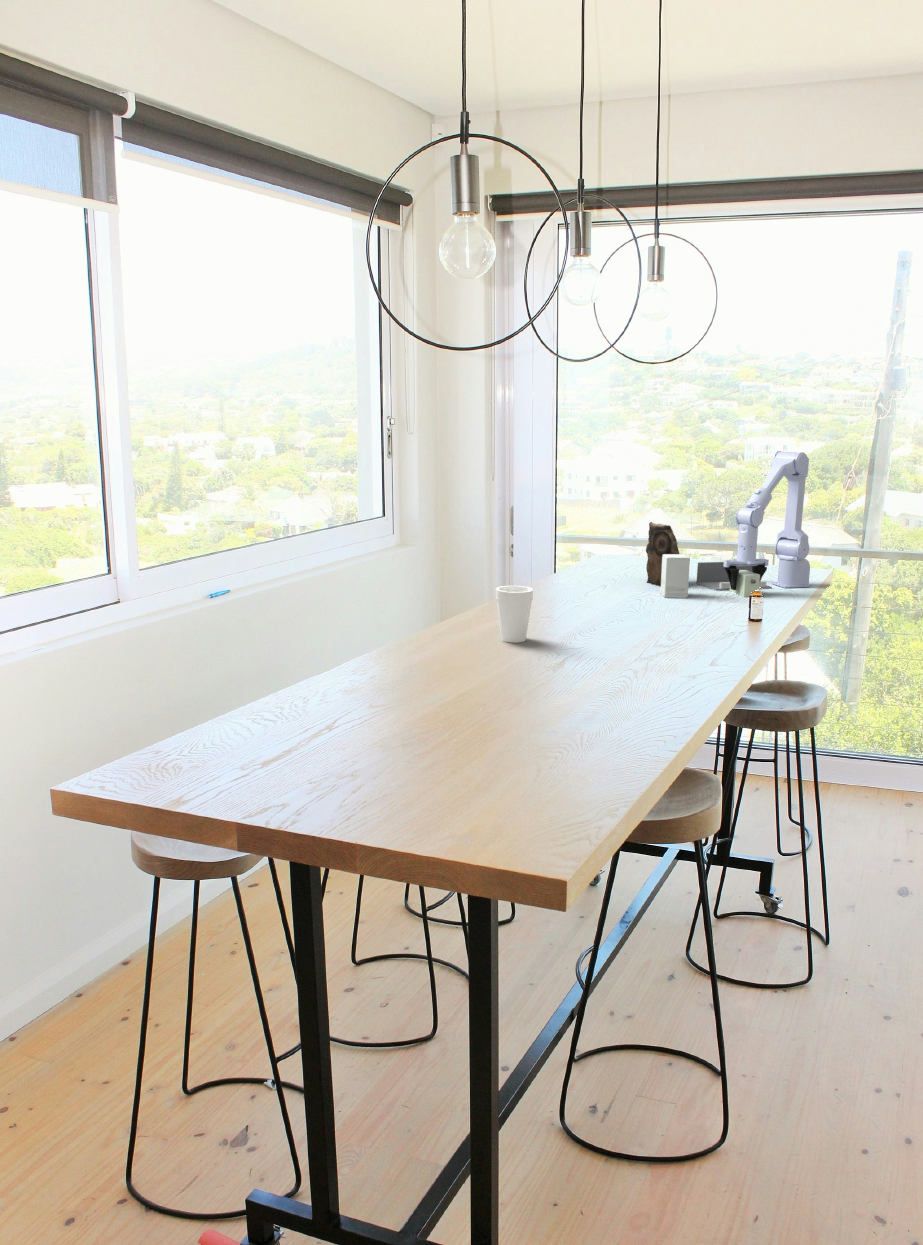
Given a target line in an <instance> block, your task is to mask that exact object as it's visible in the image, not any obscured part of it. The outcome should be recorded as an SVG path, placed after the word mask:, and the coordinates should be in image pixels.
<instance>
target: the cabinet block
mask: <svg viewBox="0 0 923 1245" xmlns="http://www.w3.org/2000/svg"><path fill="white" fill-rule="evenodd" d="M759 583H760V575H759V574H756V573H753V572H750V571H747V570H739V573H738V577H737V586H736V590H732V589H731V587H730V590H729V592H730V593H731V592H734V593H736V594H735V595H737V594H738V595H737V596H739V595H740V597H743V598H750V597H749V596H750V594H751V592H753V591H755V590H757V589H759ZM759 590H760V589H759ZM734 593H733V594H734Z"/></svg>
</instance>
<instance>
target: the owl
mask: <svg viewBox="0 0 923 1245" xmlns="http://www.w3.org/2000/svg"><path fill="white" fill-rule="evenodd" d="M648 527H649V528H648V529H649V530H648V543H647V544H646V548H645V552H646V556H647V561H646V573H647V580H646V583H647V584H650V585H654V586H656V587H661V573H662V556H663V554H680V550H679V547H678V541H677V538H676V535H675V533H674V531H673V529H672V526H671V525H667V524H663V523H654V522H652V521H650V522H649V523H648Z"/></svg>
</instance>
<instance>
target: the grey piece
mask: <svg viewBox="0 0 923 1245" xmlns="http://www.w3.org/2000/svg"><path fill="white" fill-rule="evenodd" d="M723 564H724V561H705V562H703V561H702V562H701V561H700V562H697V569H696V584H697V583H699V584H701V585H700V586H702V585H703V586H702V587H705V586H706V587H705V588H707V587H708V589H710V588H711V589H710V590H713V589H714V590H713V591H715V590H720V591H730V582H729V578H728V575H727V573H726V571H725V567H724V566H723ZM736 568H737V569H739V570H747V571H750V572H753V571H752V566H739V567H736ZM699 584H698V585H699ZM759 587H761V588H763V589H772V586H770V585H768V584H767V581H766V580H761V581H760V583H759ZM763 589H762V590H763Z"/></svg>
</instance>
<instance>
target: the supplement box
mask: <svg viewBox="0 0 923 1245" xmlns="http://www.w3.org/2000/svg"><path fill="white" fill-rule="evenodd" d="M690 559H691V558H690V556H688V555H686V554H684V553H683V554H682V553H681V554H680V553H679V554H663V556H662V573H661V586H660V590H659V591H660V594H661V596H662V597H664V598H665V599H666V598H667V599H669V598H671V599H672V598H673V599H688V597H689V578H690V563H691V562H690V561H691V560H690Z"/></svg>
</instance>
